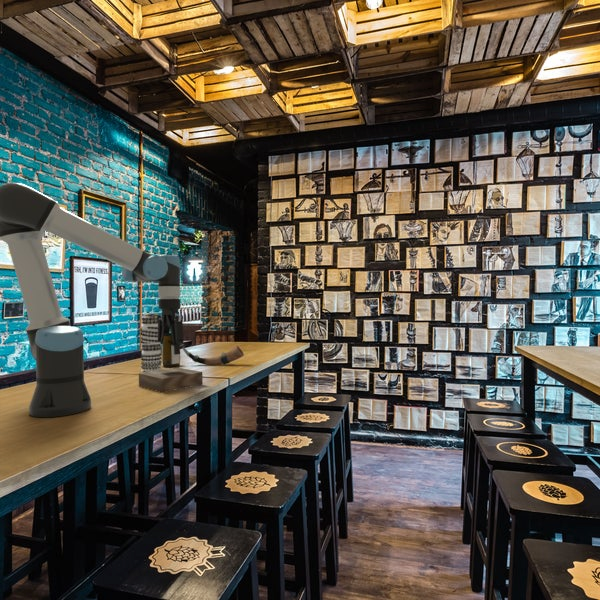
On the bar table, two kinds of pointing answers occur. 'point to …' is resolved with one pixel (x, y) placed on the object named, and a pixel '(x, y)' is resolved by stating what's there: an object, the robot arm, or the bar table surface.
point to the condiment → (168, 353)
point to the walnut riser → (170, 379)
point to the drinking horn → (222, 359)
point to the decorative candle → (150, 343)
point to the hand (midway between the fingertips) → (170, 362)
